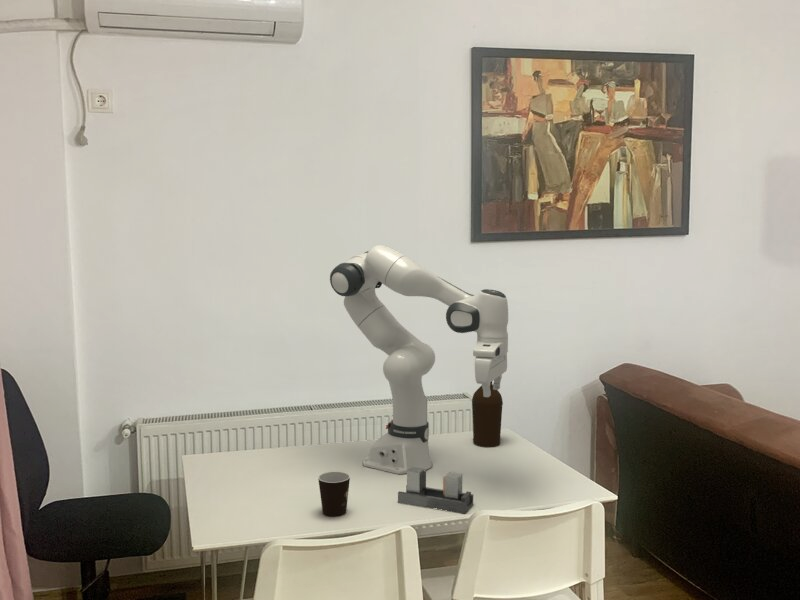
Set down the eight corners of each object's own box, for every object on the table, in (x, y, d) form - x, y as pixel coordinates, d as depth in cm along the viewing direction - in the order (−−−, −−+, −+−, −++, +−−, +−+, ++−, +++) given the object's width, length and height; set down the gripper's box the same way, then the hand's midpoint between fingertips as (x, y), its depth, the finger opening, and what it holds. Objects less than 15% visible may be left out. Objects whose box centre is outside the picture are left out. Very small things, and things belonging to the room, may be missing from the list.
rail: (397, 502, 216) (397, 471, 215) (407, 494, 223) (407, 464, 222) (465, 513, 208) (465, 481, 207) (473, 504, 215) (473, 473, 214)
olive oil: (484, 449, 263) (484, 378, 260) (465, 441, 272) (466, 372, 269) (508, 444, 269) (509, 374, 266) (489, 437, 278) (490, 369, 275)
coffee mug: (337, 521, 204) (337, 484, 203) (312, 514, 208) (311, 478, 207) (362, 506, 214) (362, 471, 212) (337, 500, 218) (337, 466, 217)
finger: (442, 504, 213) (442, 476, 212) (447, 499, 216) (447, 471, 215) (457, 506, 211) (457, 478, 210) (462, 501, 214) (462, 474, 213)
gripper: (492, 339, 232) (491, 384, 234) (471, 351, 213) (470, 399, 215) (512, 341, 230) (511, 386, 231) (492, 352, 211) (492, 402, 213)
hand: (491, 393), depth 223 cm, fingers open, 8 cm apart
